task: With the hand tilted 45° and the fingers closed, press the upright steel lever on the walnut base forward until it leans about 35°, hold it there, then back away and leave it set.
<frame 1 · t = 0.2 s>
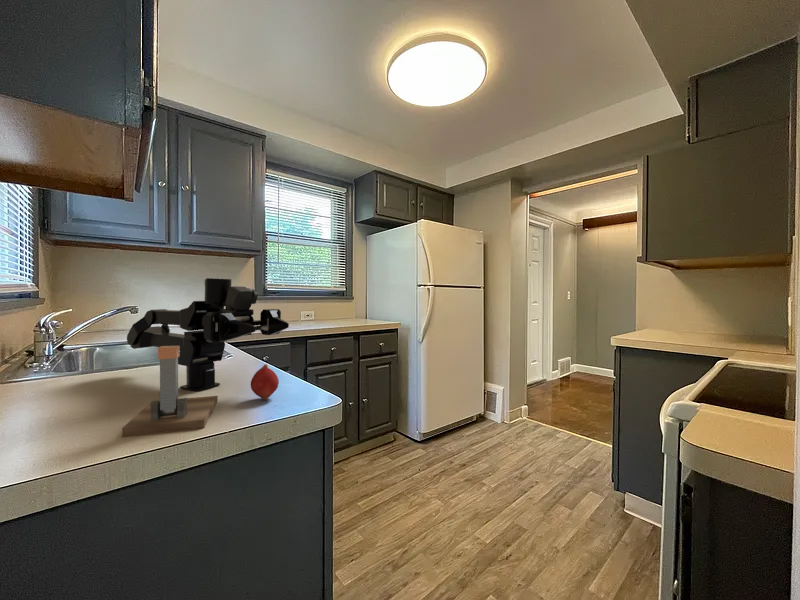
hand: (272, 327, 76), 17 cm above the countertop, tool horizontal, fingers open, 9 cm apart
lever: (169, 381, 62), point 8 cm above the countertop, hinge at 0.0°
lever base: (169, 425, 62), on the countertop
onion: (264, 400, 78), on the countertop
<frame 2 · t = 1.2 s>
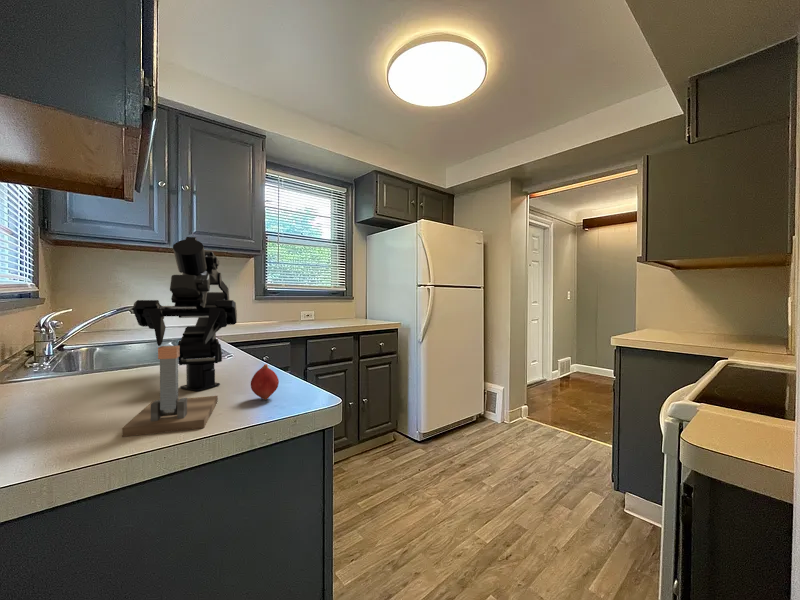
hand: (181, 343, 70), 14 cm above the countertop, tool tilted 45°, fingers open, 8 cm apart
nothing on the countertop moved.
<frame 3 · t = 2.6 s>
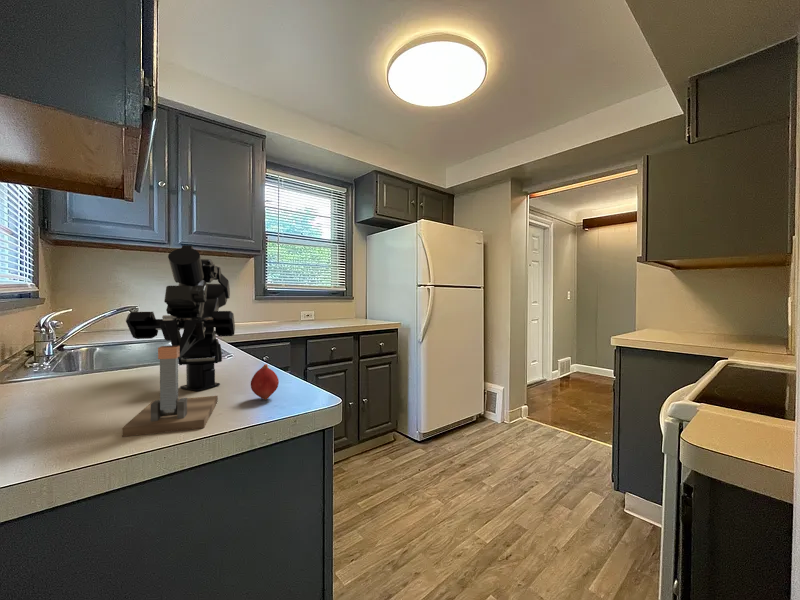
hand: (176, 357, 67), 11 cm above the countertop, tool tilted 45°, fingers closed
nothing on the countertop moved.
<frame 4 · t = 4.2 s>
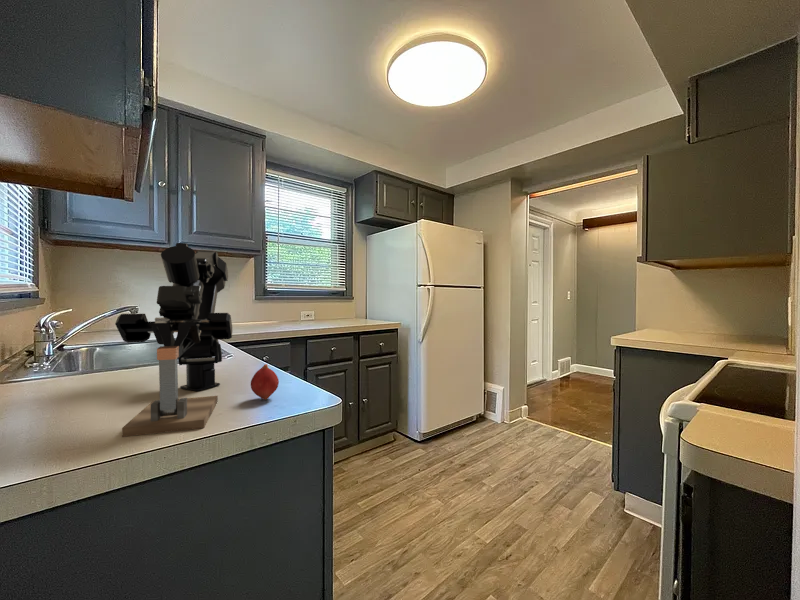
hand: (169, 362, 63), 11 cm above the countertop, tool tilted 45°, fingers closed, pressing on lever
lever: (168, 381, 62), point 8 cm above the countertop, hinge at 3.1°, touching gripper
everything else where it was.
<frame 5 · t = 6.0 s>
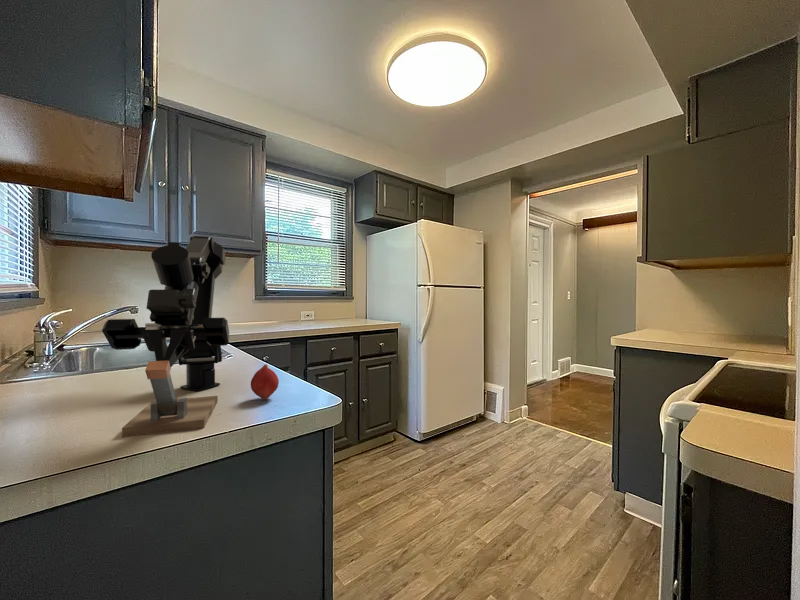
hand: (161, 373, 58), 11 cm above the countertop, tool tilted 45°, fingers closed, pressing on lever
lever: (164, 390, 59), point 7 cm above the countertop, hinge at 34.7°, touching gripper
everything else where it was.
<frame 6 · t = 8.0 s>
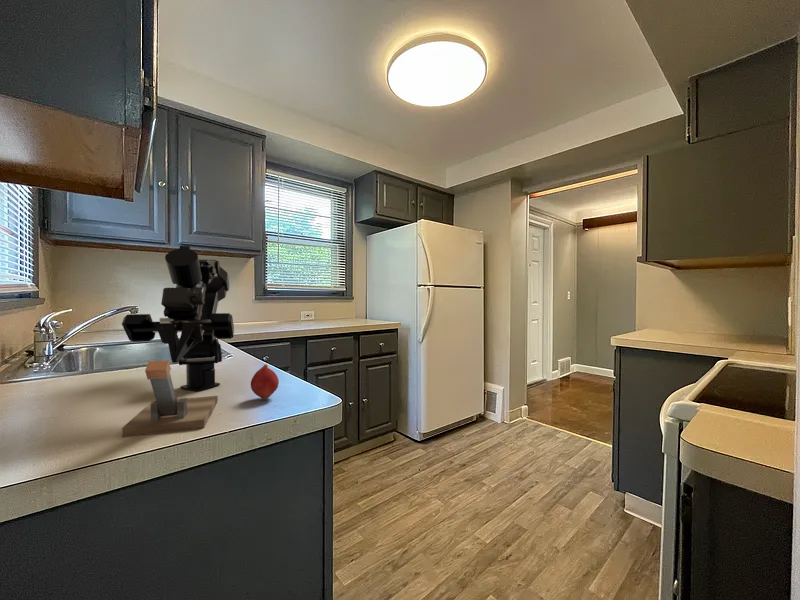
hand: (174, 361, 65), 11 cm above the countertop, tool tilted 45°, fingers closed
lever: (164, 390, 59), point 7 cm above the countertop, hinge at 34.9°
everything else where it was.
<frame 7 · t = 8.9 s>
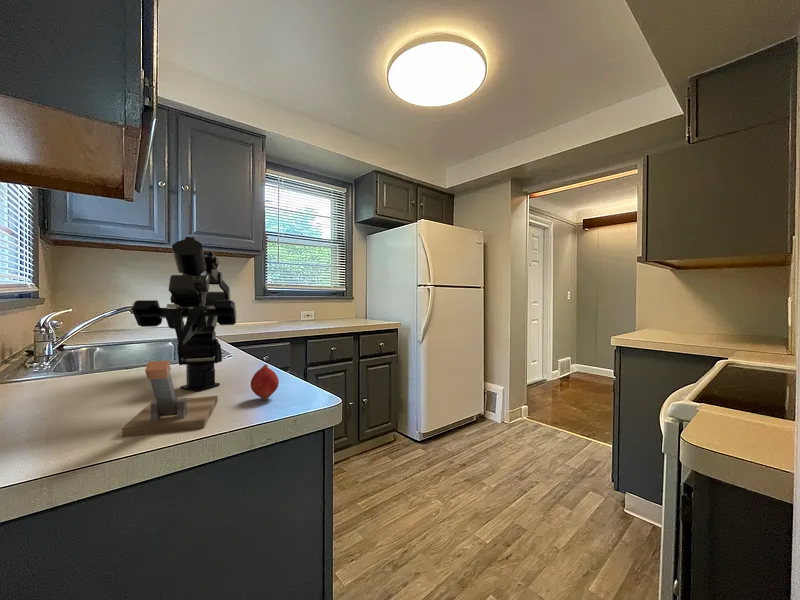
hand: (180, 344, 70), 14 cm above the countertop, tool tilted 45°, fingers closed
nothing on the countertop moved.
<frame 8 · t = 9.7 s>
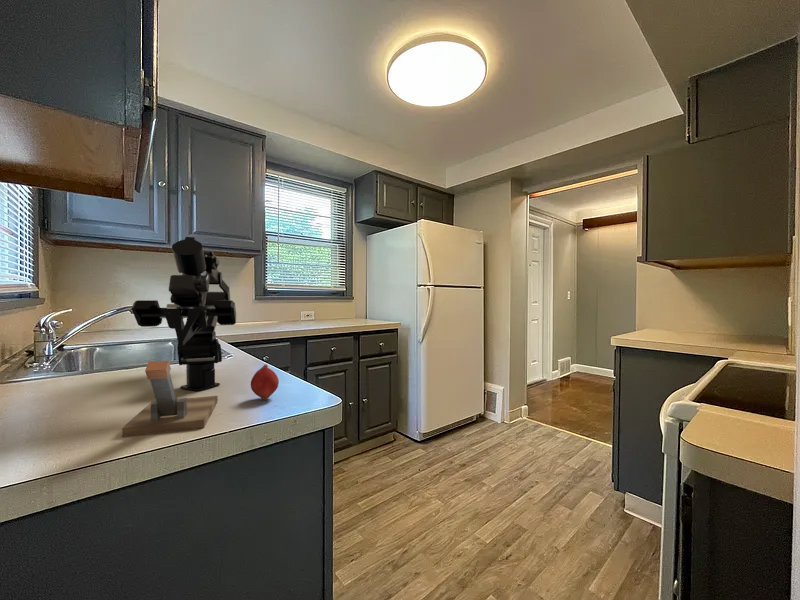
hand: (180, 344, 70), 14 cm above the countertop, tool tilted 45°, fingers closed
nothing on the countertop moved.
at the end: lever at +35° (first picture: +0°); the gripper is holding nothing; onion moved 0.2 cm from its start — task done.
